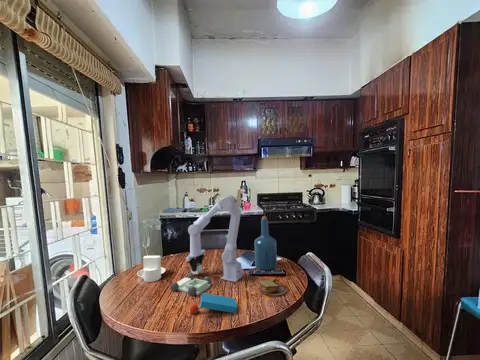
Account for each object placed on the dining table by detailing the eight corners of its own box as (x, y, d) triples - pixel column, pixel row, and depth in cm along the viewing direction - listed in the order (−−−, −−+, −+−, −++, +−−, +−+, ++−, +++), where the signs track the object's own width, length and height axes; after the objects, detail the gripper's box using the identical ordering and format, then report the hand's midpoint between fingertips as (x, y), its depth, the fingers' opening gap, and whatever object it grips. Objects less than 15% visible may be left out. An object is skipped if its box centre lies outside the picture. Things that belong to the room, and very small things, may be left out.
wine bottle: (258, 272, 132) (257, 219, 132) (252, 264, 145) (250, 215, 145) (281, 269, 135) (279, 217, 135) (272, 261, 148) (271, 214, 148)
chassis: (212, 285, 118) (211, 277, 118) (195, 297, 107) (195, 288, 107) (187, 279, 126) (187, 272, 126) (169, 290, 114) (169, 282, 114)
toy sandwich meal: (291, 294, 106) (291, 284, 106) (264, 299, 103) (263, 288, 103) (280, 283, 119) (279, 273, 118) (254, 287, 115) (254, 277, 115)
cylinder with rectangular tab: (163, 274, 133) (163, 253, 133) (156, 281, 124) (155, 259, 124) (148, 274, 134) (148, 253, 134) (140, 281, 125) (139, 259, 125)
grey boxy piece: (202, 271, 132) (201, 262, 132) (197, 274, 128) (197, 265, 128) (195, 270, 134) (195, 261, 134) (191, 273, 130) (190, 264, 130)
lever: (231, 314, 100) (189, 307, 98) (235, 298, 100) (193, 291, 98) (232, 324, 93) (188, 317, 91) (237, 307, 94) (192, 299, 91)
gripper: (198, 241, 139) (199, 264, 139) (181, 248, 126) (182, 273, 127) (207, 242, 136) (208, 265, 136) (191, 249, 123) (192, 275, 123)
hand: (196, 269), depth 131 cm, fingers closed on grey boxy piece, 4 cm apart
